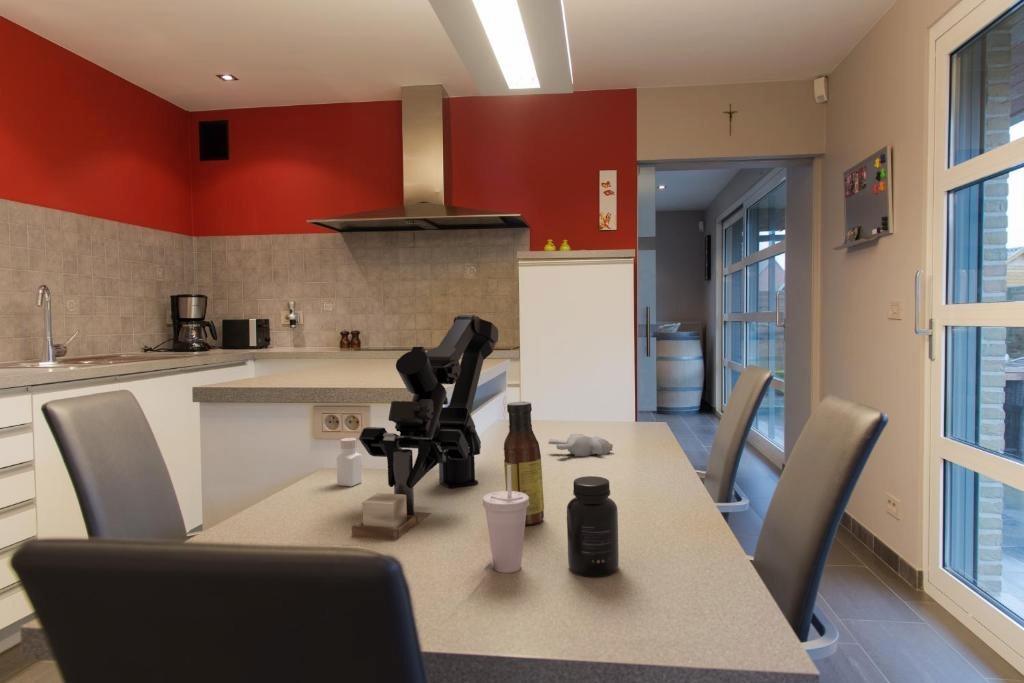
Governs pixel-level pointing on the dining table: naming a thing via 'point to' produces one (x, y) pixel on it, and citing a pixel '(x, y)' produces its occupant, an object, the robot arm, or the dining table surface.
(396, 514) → the birch block
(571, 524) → the supplement bottle
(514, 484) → the sauce bottle
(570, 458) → the dining table surface
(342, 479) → the white plastic bottle
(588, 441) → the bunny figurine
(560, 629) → the dining table surface
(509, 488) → the smoothie
